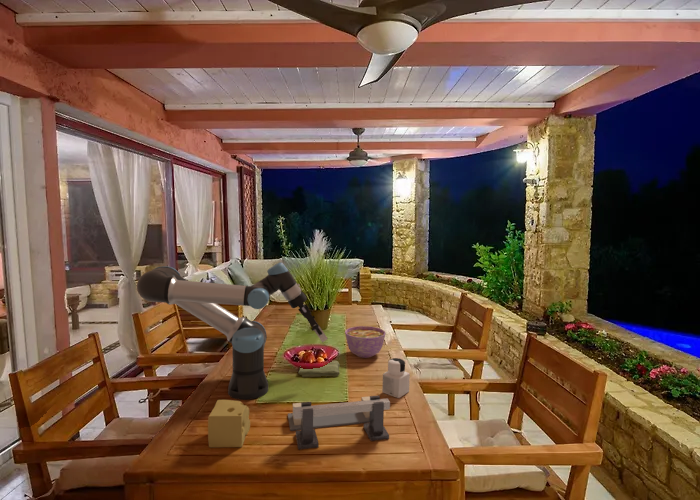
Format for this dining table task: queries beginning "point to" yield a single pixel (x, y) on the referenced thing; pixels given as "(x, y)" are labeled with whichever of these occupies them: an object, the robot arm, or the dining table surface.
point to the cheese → (228, 424)
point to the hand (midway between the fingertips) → (322, 336)
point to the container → (396, 378)
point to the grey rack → (373, 428)
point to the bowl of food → (365, 340)
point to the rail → (340, 408)
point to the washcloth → (322, 370)
